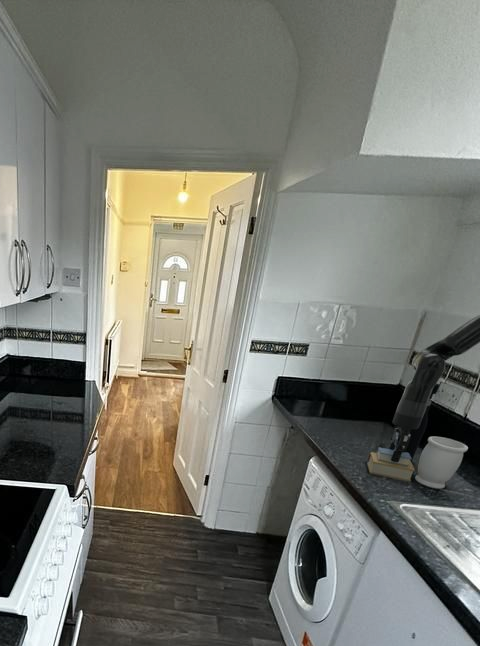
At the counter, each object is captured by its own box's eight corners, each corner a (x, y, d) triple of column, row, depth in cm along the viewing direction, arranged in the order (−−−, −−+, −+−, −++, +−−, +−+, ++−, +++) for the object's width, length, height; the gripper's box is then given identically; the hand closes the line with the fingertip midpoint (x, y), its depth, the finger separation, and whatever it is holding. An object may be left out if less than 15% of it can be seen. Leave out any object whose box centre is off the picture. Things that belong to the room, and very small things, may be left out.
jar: (453, 493, 134) (474, 452, 127) (416, 486, 137) (435, 445, 130) (441, 479, 143) (460, 439, 137) (406, 472, 146) (423, 433, 140)
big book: (405, 470, 148) (409, 459, 146) (410, 481, 140) (415, 470, 138) (366, 462, 153) (370, 451, 151) (369, 473, 145) (373, 461, 143)
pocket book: (405, 460, 145) (408, 452, 144) (408, 466, 140) (411, 458, 139) (375, 454, 149) (378, 447, 147) (377, 460, 144) (380, 452, 143)
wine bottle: (413, 461, 156) (447, 385, 143) (406, 465, 152) (440, 387, 140) (395, 455, 160) (426, 380, 148) (387, 458, 157) (418, 382, 144)
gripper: (428, 420, 130) (409, 468, 137) (419, 409, 142) (402, 453, 149) (400, 416, 133) (382, 462, 140) (393, 405, 145) (377, 448, 152)
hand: (392, 457), depth 144 cm, fingers open, 6 cm apart
